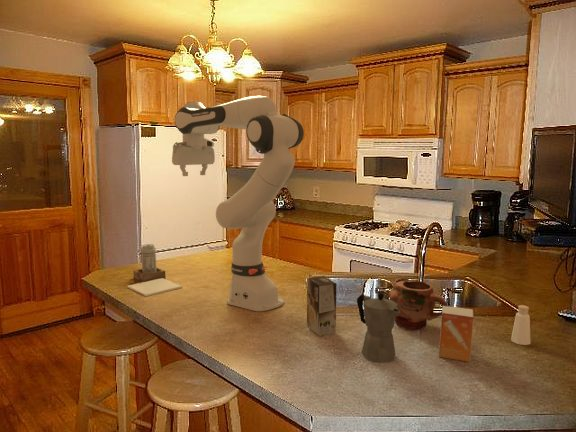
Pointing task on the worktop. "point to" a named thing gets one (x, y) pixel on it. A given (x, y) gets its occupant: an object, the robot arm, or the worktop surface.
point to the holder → (149, 275)
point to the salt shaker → (521, 326)
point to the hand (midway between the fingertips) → (194, 175)
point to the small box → (456, 333)
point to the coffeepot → (378, 327)
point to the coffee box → (321, 305)
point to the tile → (154, 287)
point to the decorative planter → (415, 304)
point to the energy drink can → (148, 259)
